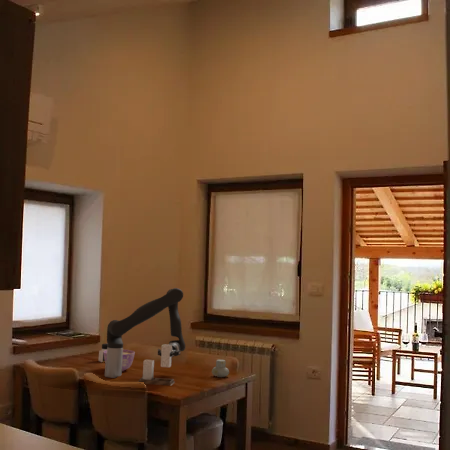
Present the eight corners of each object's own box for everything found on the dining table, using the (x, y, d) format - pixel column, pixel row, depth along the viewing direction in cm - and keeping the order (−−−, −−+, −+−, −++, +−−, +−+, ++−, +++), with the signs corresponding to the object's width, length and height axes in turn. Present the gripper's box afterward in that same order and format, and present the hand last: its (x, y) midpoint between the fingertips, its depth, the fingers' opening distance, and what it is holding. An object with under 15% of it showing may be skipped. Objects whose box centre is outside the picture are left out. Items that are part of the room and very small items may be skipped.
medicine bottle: (102, 362, 372) (103, 344, 373) (98, 361, 378) (99, 343, 379) (112, 362, 376) (113, 344, 377) (108, 360, 382) (109, 342, 383)
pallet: (136, 384, 311) (136, 380, 311) (141, 380, 322) (141, 376, 322) (171, 387, 309) (171, 382, 309) (175, 383, 320) (175, 378, 320)
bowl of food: (127, 374, 338) (128, 355, 339) (96, 371, 342) (97, 352, 343) (138, 368, 357) (139, 350, 358) (109, 366, 361) (110, 348, 362)
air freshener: (209, 375, 347) (210, 359, 348) (220, 374, 352) (221, 358, 353) (220, 378, 339) (220, 362, 339) (230, 377, 344) (231, 361, 344)
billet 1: (142, 382, 314) (143, 360, 315) (144, 380, 319) (145, 359, 320) (150, 382, 313) (152, 361, 314) (153, 381, 318) (154, 360, 319)
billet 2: (160, 366, 313) (161, 345, 314) (162, 365, 318) (163, 344, 319) (169, 367, 313) (170, 346, 314) (171, 365, 318) (172, 344, 319)
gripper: (160, 342, 331) (153, 347, 314) (183, 344, 330) (178, 348, 313) (159, 355, 331) (152, 360, 314) (183, 357, 329) (177, 362, 312)
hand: (165, 354), depth 314 cm, fingers closed on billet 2, 5 cm apart
